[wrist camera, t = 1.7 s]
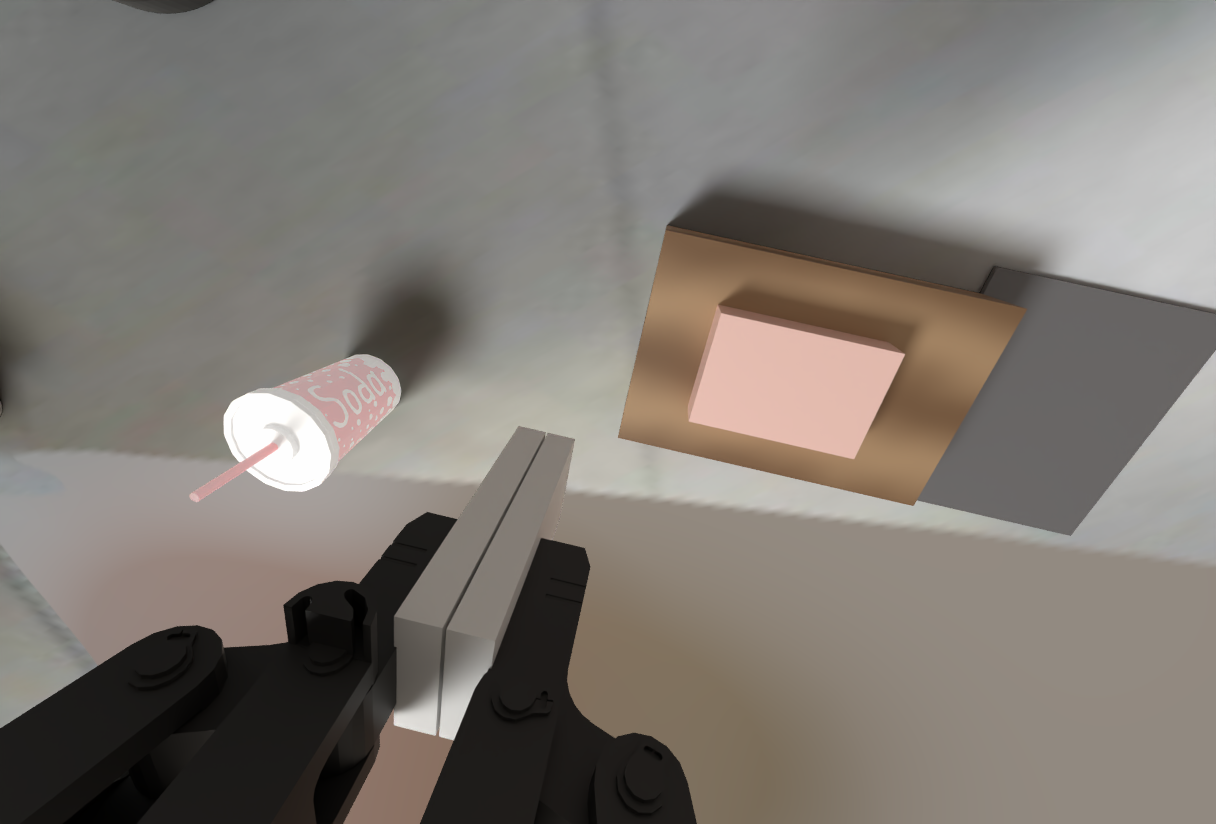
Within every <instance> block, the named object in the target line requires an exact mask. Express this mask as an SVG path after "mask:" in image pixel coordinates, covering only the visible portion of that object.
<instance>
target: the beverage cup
mask: <svg viewBox="0 0 1216 824" xmlns="http://www.w3.org/2000/svg"><path fill="white" fill-rule="evenodd" d="M400 396H401V387H400V383H399V379H398V377H397V376H396V374H395V373H394V371H393V370H392V368H391V367H390V366H389V365H387V364H386V363H385V362H384V361H382V360H381V359H379V358H376V357H374V356H371V355H368V354H362V355H354V356H351V357H349V358H346V359H344V360H341V361H339V362H336V363H334V364H331V365H329V366H326V367H324V368H322V369H319V370H317V371H314V372H312V373H309V374H307V375H304V376H302V377H299V378H297V379H294V380H292V381H289V382H287V383H284V384H282V385H279V386H277V387H274V388H259V389H257V390H255V391H252V392H250V393H247V394H245V395H244V396H242V397H240V398H238V399H236V400H234V401H232V402H231V404H230V406H229V408H228V409H227V411H226V413H225V415H224V435H225V438H226V440H227V442H228V445H229V447H230V450H231V452H232V454H233V455H234V456H235V457H236V459H237V460H238V461H239V462H240V463H238V464H237V465H235V466H234V467H232V468H230V469H229V470H227V471H226V472H224V473H222V474H221V475H219V476H218V477H216V478H215V479H213V480H211V481H210V482H208V483H206V484H205V485H203V486H202V487H200V488H198V489H197V490H195V491H194V492H192V493H190V495H189V497H190V499H192V500H193V501H195V502H198V501H200V500H201V499H203V498H204V497H206V496H207V495H209V494H210V493H212V492H214V491H215V490H217V489H218V488H220V487H221V486H223V485H224V484H225V483H227V482H229V481H230V480H232V479H233V478H235V477H237V476H238V475H239V474H241V473H243V472H244V471H246V470H247V471H248V472H249V473H251V474H252V475H254V476H255V477H257V478H258V479H259V480H261V481H262V482H264V483H265V484H268V485H271V486H273V487H276V488H279V489H282V490H285V491H306V490H309V489H311V488H313V487H316V486H318V485H320V484H321V483H323V481H324V480H325V479H326V478H327V477H329V475H330V474H331V473H332V471H333V470H334V469H335V467H336V466H337V465H338V461H339V460H340V459H342V458H343V457H344V456H345V455H346V454H347V453H348V452H349V451H350V450H351V449H352V448H353V447H354V446H355V445H356V444H357V443H358V442H359V441H361V440H362V439H363V438H364V437H365V436H366V435H367V434H368V433H369V432H370V431H371V430H372V429H373V428H374V427H375V426H376V425H377V424H378V423H380V422H381V421H382V420H383V419H384V418H385V417H386V416H387V415H388V414H389V413H390V412H391V411H392V410H393V409H394V408H395V407H396V405H397V404H398V403H399V401H400Z"/></svg>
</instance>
